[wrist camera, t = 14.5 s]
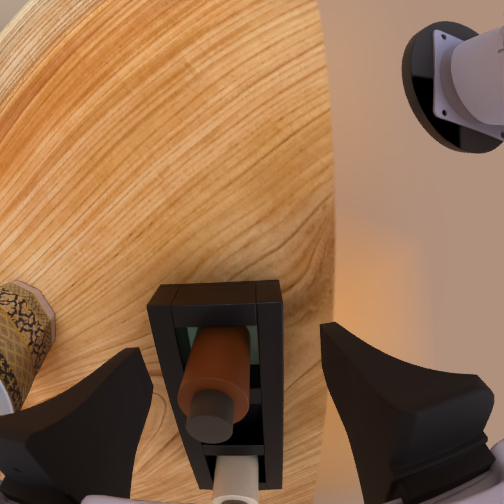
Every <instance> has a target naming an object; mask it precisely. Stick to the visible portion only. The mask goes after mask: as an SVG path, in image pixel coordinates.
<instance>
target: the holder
mask: <svg viewBox="0 0 504 504" xmlns="http://www.w3.org/2000/svg"><path fill="white" fill-rule="evenodd" d="M147 311H148V316H149V320H150V325H151V329H152V334H153V338H154V342H155V346H156V351H157V355H158V359H159V363H160V367H161V370H162V374H163V378H164V382H165V385H166V389H167V392H168V396H169V399H170V403H171V406H172V410H173V413H174V416H175V419H176V423H177V426H178V429H179V432H180V435H181V438H182V441H183V444H184V447H185V450H186V453H187V456H188V459H189V461H190V464H191V467H192V470H193V473H194V475H195V478H196V481H197V483H198V486H199V488H200V489H207V490H213V483H214V474H215V465H216V456H256V455H258V463H259V490H266V489H267V490H272V489H282V473H283V402H284V359H283V300H282V295H281V289H280V284H279V280H265V281H244V282H221V283H195V284H163V285H160V286H159V288H158V289H157V291H156V292H155V294H154V295H153V297H152V298H151V300H150V301H149V303H148V304H147ZM231 326H246V327H247V329H248V330H249V333H250V338H251V344H250V389H249V409H248V412H247V414H246V415H245V416H244V417H243V418H242V419H241V420H240V421H238V422H236V423H234V424H233V433H232V435H231V437H230V438H229V439H228V440H226V441H224V442H221V443H205V442H201V441H199V440H196V439H195V438H193V437H192V436H191V435H190V434H189V433H188V432H187V430H186V422H187V417H188V416H187V415H185V414H184V412H183V411H182V410H181V408H180V406H179V404H178V392H179V389H180V385H181V382H182V379H183V375H184V372H185V368H186V365H187V362H188V358H189V355H190V351H191V348H192V345H193V342H194V338H195V335H196V332H197V329H198V327H231Z"/></svg>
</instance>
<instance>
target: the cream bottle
mask: <svg viewBox="0 0 504 504" xmlns="http://www.w3.org/2000/svg"><path fill="white" fill-rule="evenodd" d="M211 503H212V504H259V463H258V455H256V456H216V465H215V474H214V483H213V492H212V501H211Z"/></svg>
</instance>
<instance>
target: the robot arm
mask: <svg viewBox="0 0 504 504" xmlns="http://www.w3.org/2000/svg"><path fill="white" fill-rule="evenodd" d="M441 35H442V36H443V37H444V39H443V38H442V36H441ZM432 39H433V114H434V116H435V117H437V118H440V119H443V120H446V121H450V122H453V123H456V124H458V125H461V126H464V127H467V128H470V129H473V130H475V131H478V132H481V133H483V134H486V135H488V136H491V137H493V138H496V139H498V140H501V141H503V142H504V26H501V27H499V28H496V29H493V30H491V31H488V32H486V33H483V34H481V35H478V36H476V37H473V38H471V39H468V40H466V41H463V40H460V39H458V38H456V37H454V36H451V35H449V34H447V33H444V32H442V31H439V30H435V31H433V32H432ZM442 111H444V112H445V115H443V114H442ZM501 134H502V137H501ZM320 339H321V357H322V369H323V372H324V376H325V380H326V383H327V387H328V389H329V392H330V394H331V396H332V399H333V401H334V404H335V406H336V408H337V410H338V413H339V415H340V417H341V420H342V422H343V425H344V427H345V430H346V432H347V435H348V438H349V442H350V445H351V449H352V453H353V456H354V460H355V464H356V468H357V472H358V476H359V481H360V485H361V489H362V494H363V498H364V504H504V439H502V440H501V441H499V442H498V443H496V444H495V445H494V446H493V447H492V448H491V449H490V450H489V449H488V447H487V445H486V444H485V443H486V442H487V441H488V437H487V436H486V434H485V433H484V432H483V430H484V427H485V425H486V423H487V421H488V419H489V416H490V414H491V412H492V408H493V405H494V394H493V392H492V391H491V389H490V388H489V387H488V386H487V385H486V384H485V383H484V382H483V381H482V380H481V379H480V377H478V376H477V375H473V374H458V373H457V374H456V373H448V372H442V371H437V370H432V369H427V368H423V367H420V366H417V365H413V364H410V363H407V362H404V361H402V360H399V359H397V358H394V357H392V356H390V355H388V354H385V353H383V352H382V351H380V350H378V349H376V348H374V347H372V346H371V345H369V344H367V343H366V342H364V341H362V340H361V339H359V338H358V337H356V336H355V335H353V334H352V333H350V332H349V331H347V330H346V329H345V328H343V327H342V326H340V325H339V324H338V323H336V322H331V323H325V324H320ZM153 387H154V386H153V383H152V381H151V378H150V376H149V373H148V371H147V368H146V365H145V363H144V360H143V357H142V355H141V352H140V349H139V347H135V348H125V349H123V350H122V351H120V352H119V353H117V354H116V355H115V356H113V357H112V358H111V359H110V360H108V361H107V362H106V363H104V364H103V365H102V366H100V367H99V368H98V369H97V370H95V371H94V372H93V373H91V374H90V375H89V376H87V377H86V378H84V379H83V380H82V381H80V382H79V383H77V384H76V385H74V386H73V387H71V388H70V389H68V390H66V391H65V392H63V393H61V394H59V395H57V396H55V397H53V398H51V399H49V400H47V401H45V402H43V403H40V404H38V405H36V406H33V407H30V408H28V409H25V410H21V411H18V412H15V413H11V414H6V415H1V416H0V471H1V472H2V473H3V474H4V475H5V478H4V479H3V481H2V480H0V504H194V503H170V502H155V501H144V500H134V499H130V489H131V480H132V472H133V466H134V460H135V454H136V450H137V447H138V443H139V440H140V437H141V434H142V431H143V428H144V425H145V422H146V419H147V415H148V412H149V409H150V406H151V400H152V394H153Z"/></svg>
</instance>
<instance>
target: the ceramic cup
mask: <svg viewBox="0 0 504 504" xmlns="http://www.w3.org/2000/svg"><path fill="white" fill-rule="evenodd" d="M54 340H55V314H54V312H53V310H52V309H51V307H50V306H49V304H48V303H47V301H46V300H45V298H44V296H43V295H42V293H41V292H40V291H39V290H38V289H36V288H33V287H31V286H29V285H27V284H25V283H22V282H20V281H13V282H10V283H7V284H4V285H2V286H0V416H1V415H6V414H11V413H15V412H18V411H20V410H21V408H22V406H23V404H24V402H25V399H26V397H27V395H28V393H29V391H30V388H31V386H32V383H33V381H34V378H35V376H36V375H37V373H38V371H39V369H40V367H41V365H42V363H43V361H44V359H45V357H46V355H47V353H48V352H49V350H50V348H51V346H52V344H53V342H54Z"/></svg>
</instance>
